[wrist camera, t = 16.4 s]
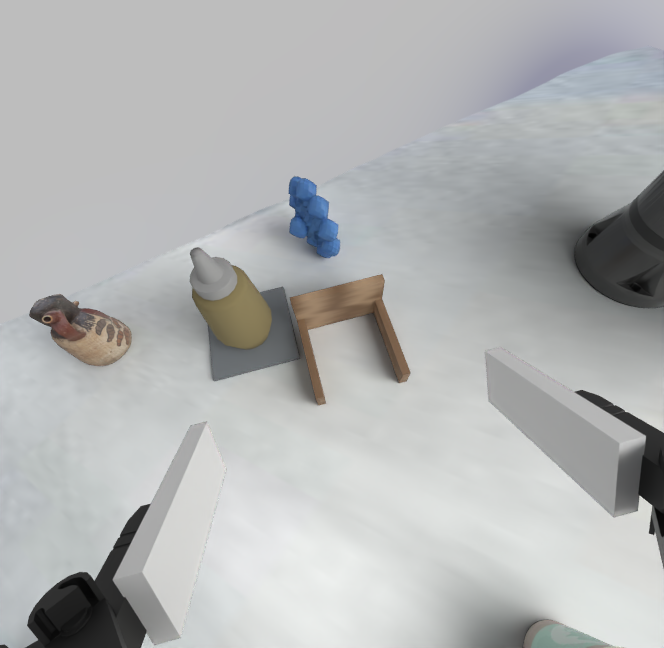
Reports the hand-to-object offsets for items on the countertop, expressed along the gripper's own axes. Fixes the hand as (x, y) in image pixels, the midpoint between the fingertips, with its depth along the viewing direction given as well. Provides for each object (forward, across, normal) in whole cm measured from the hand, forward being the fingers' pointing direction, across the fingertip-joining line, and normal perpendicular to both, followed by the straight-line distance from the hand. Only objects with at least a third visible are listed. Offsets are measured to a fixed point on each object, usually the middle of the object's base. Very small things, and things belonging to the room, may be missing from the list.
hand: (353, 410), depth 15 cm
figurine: (+36, -32, -2) cm, 48 cm away
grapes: (+42, +1, +4) cm, 43 cm away
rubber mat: (+33, -10, -5) cm, 35 cm away
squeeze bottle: (+33, -11, -5) cm, 35 cm away
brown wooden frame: (+29, +3, -10) cm, 30 cm away
